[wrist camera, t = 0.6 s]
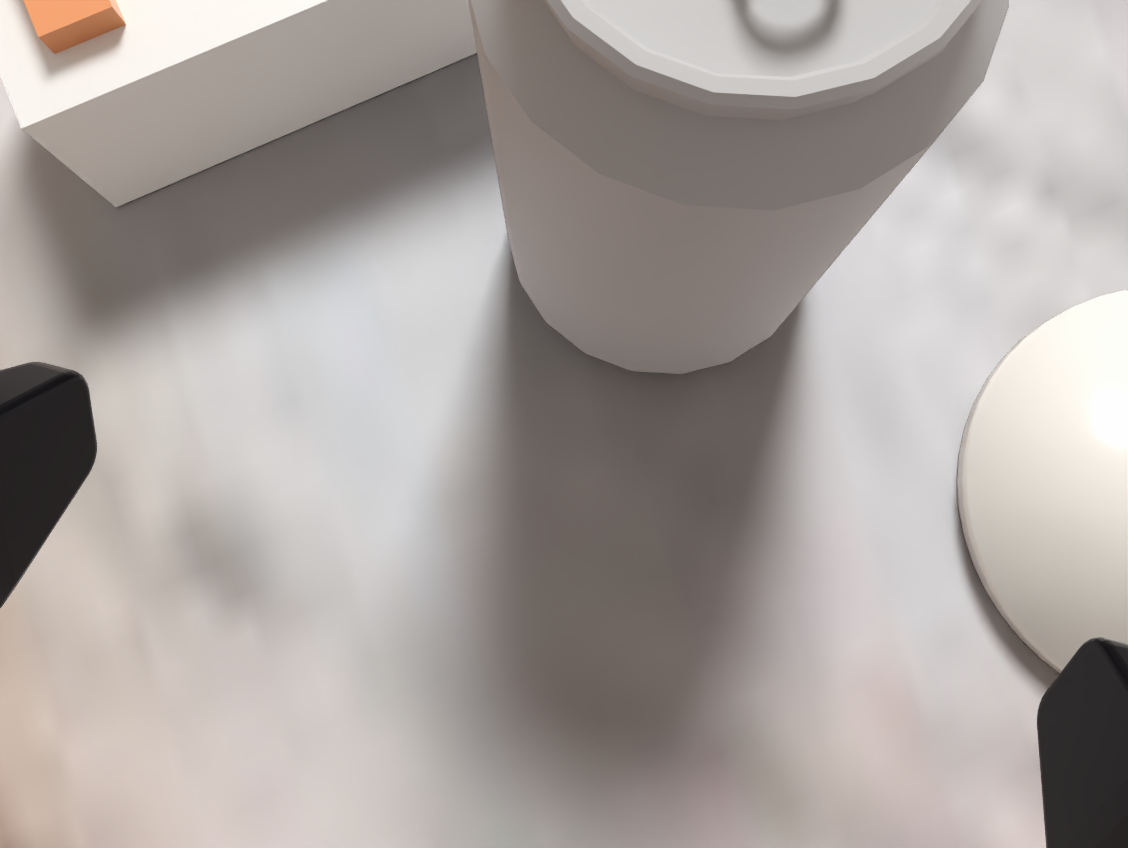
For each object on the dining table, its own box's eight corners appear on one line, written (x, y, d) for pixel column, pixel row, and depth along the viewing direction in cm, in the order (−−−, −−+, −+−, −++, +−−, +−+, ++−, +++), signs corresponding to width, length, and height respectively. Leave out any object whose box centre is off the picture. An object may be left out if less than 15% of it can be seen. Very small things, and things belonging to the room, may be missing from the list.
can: (731, 55, 23) (901, -484, 12) (861, 311, 22) (1200, 2, 10) (463, 163, 23) (354, -285, 11) (582, 431, 22) (603, 250, 10)
